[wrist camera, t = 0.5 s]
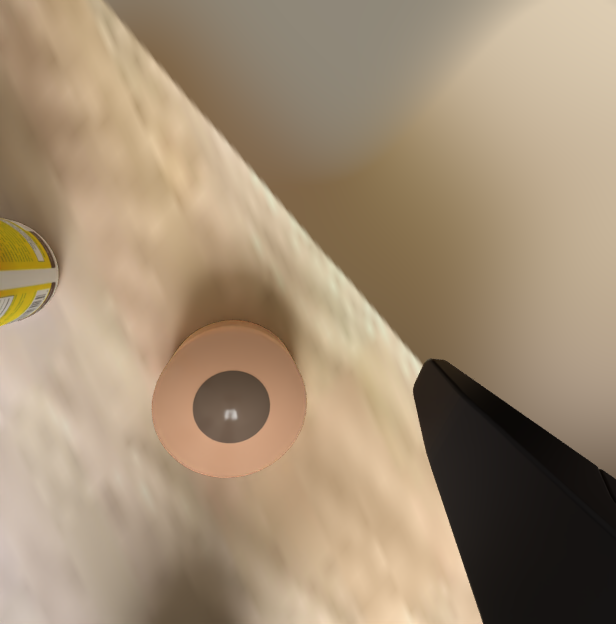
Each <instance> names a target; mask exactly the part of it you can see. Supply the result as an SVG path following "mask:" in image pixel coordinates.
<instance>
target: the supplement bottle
mask: <svg viewBox="0 0 616 624" xmlns="http://www.w3.org/2000/svg"><path fill="white" fill-rule="evenodd" d="M58 278H59V271H58V265H57V261H56V258H55V256H54V253H53V251H52V250H51V248H50V246H49V245H48V244H47V242H46V241H45V240H44V239H43V238H42V237H41V236H40V235H39V234H38V233H36V232H35V231H34V230H32V229H31V228H29V227H27V226H25V225H23V224H21V223H19V222H16V221H13V220H9V219H5V218H0V326H2V325H5V324H8V323H12V322H15V321H19V320H22V319H24V318H27V317H29V316H31V315H33V314H35V313H37V312H38V311H40V310H41V309H42V308H44V307H45V306H46V305H47V304H48V302H49V301H50V300H51V298H52V297H53V295H54V293H55V291H56V288H57V284H58Z"/></svg>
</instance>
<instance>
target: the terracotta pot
mask: <svg viewBox="0 0 616 624" xmlns="http://www.w3.org/2000/svg"><path fill="white" fill-rule="evenodd" d="M306 406H307V398H306V390H305V385H304V382H303V379H302V376H301V374H300V372H299V370H298V368H297V366H296V364H295V362H294V360H293V359H292V357H291V355H290V353H289V351H288V349H287V348H286V346H285V345H284V343H283V342H282V341H281V340H280V339H279V338H278V337H277V336H276V335H275V334H273V333H272V332H271V331H269V330H268V329H266V328H264V327H262V326H260V325H258V324H255V323H251V322H247V321H242V320H226V321H220V322H215V323H212V324H209V325H207V326H204V327H202V328H200V329H199V330H197V331H196V332H194V333H193V334H191V335H190V336H189V337H188V338H187V339H185V341H184V342H183V343H182V344H181V345H180V346H179V348H178V349H177V351H176V352H175V354H174V355H173V357H172V358H171V360H170V361H169V363H168V364H167V366H166V367H165V369H164V370H163V372H162V373H161V375H160V377H159V379H158V381H157V384H156V387H155V390H154V394H153V399H152V417H153V423H154V427H155V431H156V433H157V435H158V438H159V440H160V441H161V443H162V445H163V446H164V448H165V449H166V450H167V451H168V453H169V454H170V455H171V456H172V457H173V458H174V459H176V460H177V461H178V462H179V463H181V464H182V465H184V466H185V467H187V468H189V469H191V470H193V471H195V472H197V473H200V474H203V475H207V476H212V477H221V478H230V477H239V476H245V475H248V474H252V473H255V472H257V471H260V470H262V469H264V468H266V467H268V466H269V465H271V464H272V463H274V462H275V461H277V460H278V459H279V458H280V457H281V456H282V455H284V454H285V453H286V452H287V450H288V449H289V448H290V447H291V446H292V444H293V443H294V441H295V440H296V438H297V437H298V435H299V433H300V431H301V428H302V425H303V423H304V419H305V414H306Z"/></svg>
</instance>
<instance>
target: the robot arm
mask: <svg viewBox="0 0 616 624" xmlns="http://www.w3.org/2000/svg"><path fill="white" fill-rule="evenodd" d="M413 395H414V400H415V404H416V409H417V413H418V418H419V422H420V427H421V431H422V436H423V440H424V445H425V449H426V453H427V456H428V459H429V463H430V466H431V469H432V472H433V475H434V478H435V481H436V484H437V487H438V490H439V493H440V496H441V499H442V502H443V505H444V508H445V511H446V514H447V517H448V520H449V523H450V526H451V529H452V532H453V535H454V538H455V541H456V544H457V547H458V550H459V553H460V556H461V559H462V562H463V565H464V568H465V571H466V574H467V577H468V580H469V583H470V586H471V589H472V592H473V595H474V598H475V601H476V604H477V607H478V610H479V613H480V616H481V619H482V622H483V624H616V479H615V478H613V477H612V476H611V475H609V474H608V473H606V472H605V471H603V470H602V469H598V467H597V466H596V465H595V464H593V463H592V462H590V461H589V460H588V459H586V458H585V457H583V456H582V455H580V454H579V453H577V452H576V451H574V450H573V449H572V448H570V447H569V446H567V445H566V444H565V443H563V442H562V441H560V440H559V439H557V438H556V437H555V436H553V435H552V434H550V433H549V432H547V431H546V430H545V429H543V428H542V427H540V426H539V425H537V424H536V423H534V422H533V421H532V420H530V419H529V418H527V417H526V416H524V415H523V414H522V413H520V412H519V411H517V410H516V409H514V408H513V407H512V406H510V405H509V404H507V403H506V402H504V401H503V400H501V399H500V398H499V397H497V396H496V395H494V394H493V393H492V392H490V391H489V390H487V389H486V388H484V387H483V386H481V385H480V384H479V383H477V382H476V381H474V380H473V379H471V378H470V377H468V376H467V375H466V374H464V373H463V372H461V371H460V370H459V369H457V368H456V367H454V366H453V365H451V364H450V363H449V362H447V361H445V360H439V359H428V360H427V361H425V363H424V364H423V367H422V369H421V371H420V373H419V375H418V377H417V379H416V382H415V384H414V388H413Z"/></svg>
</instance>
